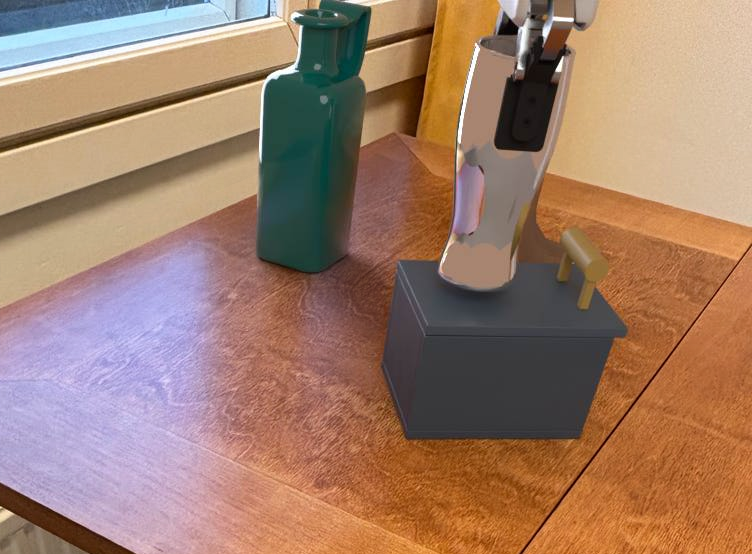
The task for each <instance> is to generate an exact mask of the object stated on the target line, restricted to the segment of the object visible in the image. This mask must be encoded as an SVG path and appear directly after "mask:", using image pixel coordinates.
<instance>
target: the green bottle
mask: <svg viewBox="0 0 752 554" xmlns="http://www.w3.org/2000/svg"><path fill="white" fill-rule="evenodd" d="M372 10H373V9H372V7H371V6H369V5H363V4H359V3H353V2H349V1H348V2H347V1H342V0H320V2H319V4H318V8H305V9H303V8H302V9H298V10H295V11H293V13H292V14H291V15H290V20H291V22H293V23H294V24H295V25H297V26H299V36H298V50H297V51H298V52H297V56H296V60H295V62H294V63H293V64H291V65H288V66H286V67H283V68H280V69H277V70H275V71H273V72H272V73H270V74H269V75H268V76H267V77H266V78H265V81H264V83H263V85H262V89H261V96H260V97H261V99H260V120H259V121H260V123H259V147H258V170H257V171H258V172H257V194H256V195H257V196H256V217H255V239H254V241H255V242H254V243H255V244H254V251H255V254H256V255H257V257H258V258H260V259H261V260H264V261H267V262H270V263H273V264H275V265H279V266H283V267H286V268H289V269H292V270H295V271H298V272H301V273H309V274H310V273H311V274H312V273H319V272H323V271H325V270H326V269H327V268H329V267H330V266H332V265H334V264H335V263H336V262H338V261H340V260H341V259H342V258H344V257H345V256H347V254H348V252H349V249H350V247H349V246H350V239H351V230H352V222H353V214H354V213H353V212H354V205H355V195H356V188H357V179H358V170H359V162H360V155H361V144H362V137H363V129H364V128H363V127H364V119H365V110H366V101H367V88H366V87H367V86H366V83H365V81H364V80H363V78H362V77H360V74H361V70H362V67H363V64H364V60H365V55H366V49H367V44H368V37H369V33H370V32H369V31H370V26H371V25H370V24H371V18H372Z"/></svg>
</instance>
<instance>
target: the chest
mask: <svg viewBox="0 0 752 554" xmlns="http://www.w3.org/2000/svg"><path fill="white" fill-rule="evenodd" d="M386 327H387V328H386V333H385V339H384V346H383V353H382V360H381V366H380V368H381V371H382V373H383V376H384V379H385V382H386V385H387V388H388V391H389V394H390V396H391V400H392V403H393V405H394V407H395V408H394V409H395V411H396V414H397V416H398V420H399V422H400V425H401V428H402V432H403V435H404V437H405V439H406V440H580V438H581V435H582V432H583V430H584V426H585V424H586V421H587V419H588V417H589V413H590V410H591V407H592V405H593V402H594V398H595V396H596V393H597V390H598V388H599V384H600V382H601V379H602V376H603V374H604V370H605V367H606V364H607V361H608V359H609V356H610V353H611V350H612V347H613V344H614V341H615V338H594V337H525V336H456V335H426V334H425V332H424V330H423V328H422V325H421V323H420V321H419V318H418V316H417V314H416V312H415V309H414V307H413V305H412V303H411V300H410V298H409V296H408V293H407V291H406V289H405V287H404V284H403V282H402V280H401V277H400V275H399V273H398V271H397V270H396V271H395V276H394V283H393V289H392V296H391V302H390V308H389V315H388V321H387V326H386ZM444 438H445V439H444ZM452 438H454V439H452ZM456 438H457V439H456ZM460 438H461V439H460Z"/></svg>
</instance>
